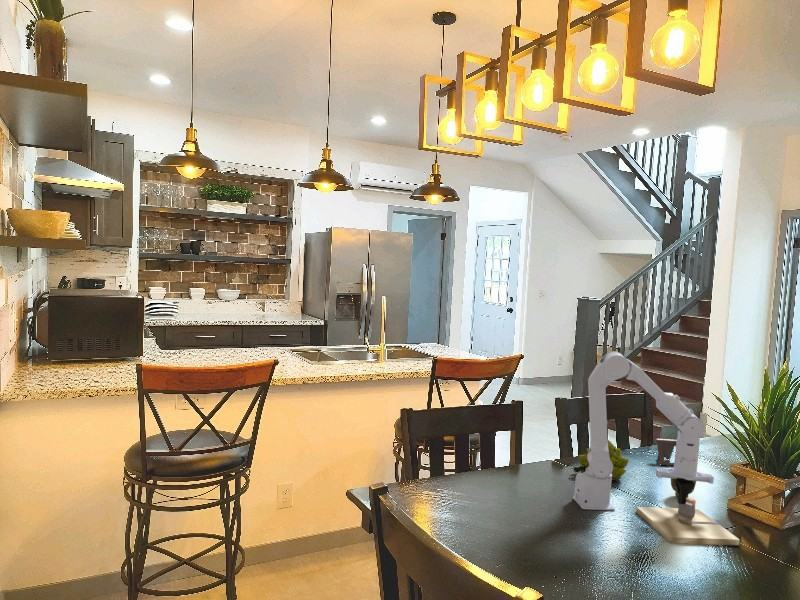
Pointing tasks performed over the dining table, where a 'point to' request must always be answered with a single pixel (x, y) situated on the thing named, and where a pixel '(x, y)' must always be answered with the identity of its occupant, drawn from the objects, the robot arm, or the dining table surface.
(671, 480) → the cup
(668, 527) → the base
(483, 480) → the dining table surface
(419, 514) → the dining table surface
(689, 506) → the lock lever
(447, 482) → the dining table surface
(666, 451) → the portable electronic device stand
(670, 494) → the dining table surface
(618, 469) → the vegetable
